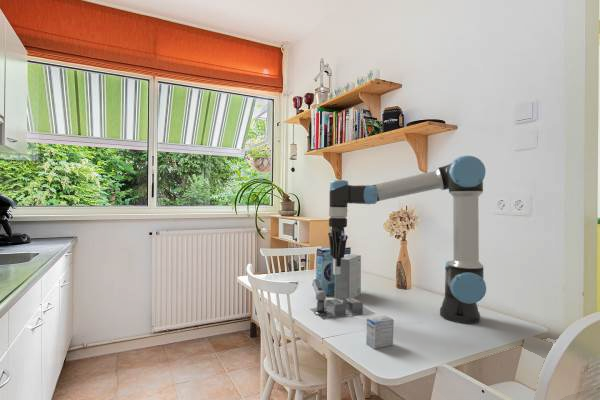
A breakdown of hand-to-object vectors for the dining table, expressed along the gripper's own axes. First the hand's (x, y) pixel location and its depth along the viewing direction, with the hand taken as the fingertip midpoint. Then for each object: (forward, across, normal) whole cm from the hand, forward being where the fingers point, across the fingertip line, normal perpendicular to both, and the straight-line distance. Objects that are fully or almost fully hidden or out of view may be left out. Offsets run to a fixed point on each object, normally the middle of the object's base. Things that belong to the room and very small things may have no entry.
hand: (336, 273), depth 146 cm
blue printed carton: (+17, +30, -14) cm, 37 cm away
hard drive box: (+17, +20, -17) cm, 31 cm away
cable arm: (+10, +10, +4) cm, 14 cm away
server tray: (+16, 0, -3) cm, 17 cm away
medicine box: (+17, -33, +1) cm, 37 cm away
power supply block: (+16, 0, 0) cm, 16 cm away
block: (+16, 0, -8) cm, 18 cm away
